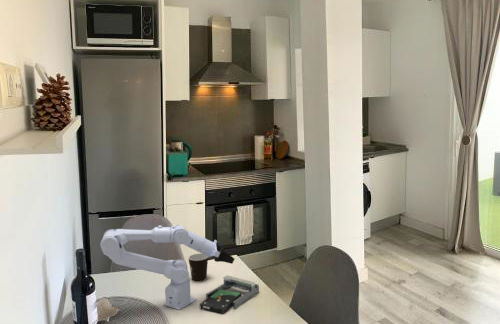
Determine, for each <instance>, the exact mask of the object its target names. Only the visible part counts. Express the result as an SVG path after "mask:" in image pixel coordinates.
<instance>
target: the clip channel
mask: <svg viewBox="0 0 500 324" xmlns="http://www.w3.org/2000/svg"><path fill="white" fill-rule="evenodd" d="M222 279H223V284H221V285H219V286H216V288H214V289H212V290H210V291H209V292H207V293H206V294H205V300H206V299H207V298H208V297H209V296H211V295H212V294H213V293H215V292H216V291H217V290H219V289H222V290H228V289H230V288H231V287H234V288H238V289H241V290H245V291H247V292H246V293H244V294H242V296H241V297H239V298H238V299H236V300H235V301H233V302H232V304H233V306H232V309H234V310H236V309H237V308H238V307H240V306H241V305H243V304H244V303H246V302H247V301H248V300H250V299H252V298H253V297H254V296H256V295H257V294H259V293H260V286H259V284H257V283H255V282H254V281H252V280H247V279H243V278H239V277H235V276H231V275H227V274H226V275H225V276H223V278H222Z"/></svg>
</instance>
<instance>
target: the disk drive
mask: <svg viewBox="0 0 500 324" xmlns="http://www.w3.org/2000/svg"><path fill="white" fill-rule="evenodd" d="M242 295H243V293H242V292H239V291H236V290H228V289H226V290H222V289H219V290H217V291H216V292H215V293H213V294H212V295H211V296H209V297H208V298H207V299H206V298H205V299H204V300H203V301H202V302H201V303H200V304H199V309H200V310H202V311H207V312H210V313H215V314H220V315H225V314H226V313H227V312H229V310H230V309H231V308H233V304H232V302H233V301H235V300H236V299H238V298H239V297H241V296H242Z"/></svg>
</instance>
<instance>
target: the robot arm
mask: <svg viewBox="0 0 500 324" xmlns="http://www.w3.org/2000/svg"><path fill="white" fill-rule="evenodd" d="M146 240H151V241H152V242H154V243H173V242H174V243H175V244H176V245H184V246H185V247H187V248H190V249H191V250H194V251H196V252H198V253H199V254H204V255H206V256H207V257H208V258H212V257H213V258H214V257H215V258H214V259H213V261H214V262H216V263H218V262H221V263H227V264H231V265H232V264H233V263H234V262H235V258H234V257H233V256H232V255H230V254H229V252H226V251H225V249H224V248H223V247H220V245H219V244H218V241H217V240H216V239H214V241H212V240H209V239H208V238H205V237H204V236H201V235H199V234H197V233H195V232H192V231H190V230H187V228H186V227H185V226H183V225H179V224H177V225H172V226H162V224H161V225H158V226H155V227H154V228H152V229H150V230H149V229H128V228H127V229H125V228H116V229H111V228H110V229H107V230H106V231H105V232H104V233H103V236H102V239H101V241H100V244H99V246H100V249H101V252H102V253H103V255H105V256H107V257H108V258H109V259H110V260H111V261H112V262H113V263H114V264H116V265H120V266H124V267H128V268H133V269H137V270H141V271H146V272H149V273H153V274H158V275H163V276H164V277H166V278H167V279H168V280H170V281H169V284H168V285H166V286H165V289H164V293H165V294H164V295H165V303H164V306H166V307H169V308H172V309H175V310H178V311H179V310H182V309H184V308H185V307H186V306H188V305H190V304H192V303H194V302H195V301H196V298H193V297H191V278H190V273H189V269H188V264H187V262H186V261H185V260H184V259H176V260H175V259H167V260H166V259H165V260H164V259H160V258H156V257H151V256H148V255H144V254H140V253H139V254H138V253H135V252H132V251H131V252H130V251H126V249H125V248H124V247H125V246H124V245H125V244H127V242H130V241H146Z"/></svg>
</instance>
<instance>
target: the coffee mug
mask: <svg viewBox="0 0 500 324" xmlns="http://www.w3.org/2000/svg"><path fill="white" fill-rule="evenodd" d="M187 258H188V263H189V270H190V275H191V280H192V281H193V282H204V281H205V280H207V275H208V263H209V257H207V256H206V255H204V254H202V253H194V254H190V255H189V256H188V257H187Z"/></svg>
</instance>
